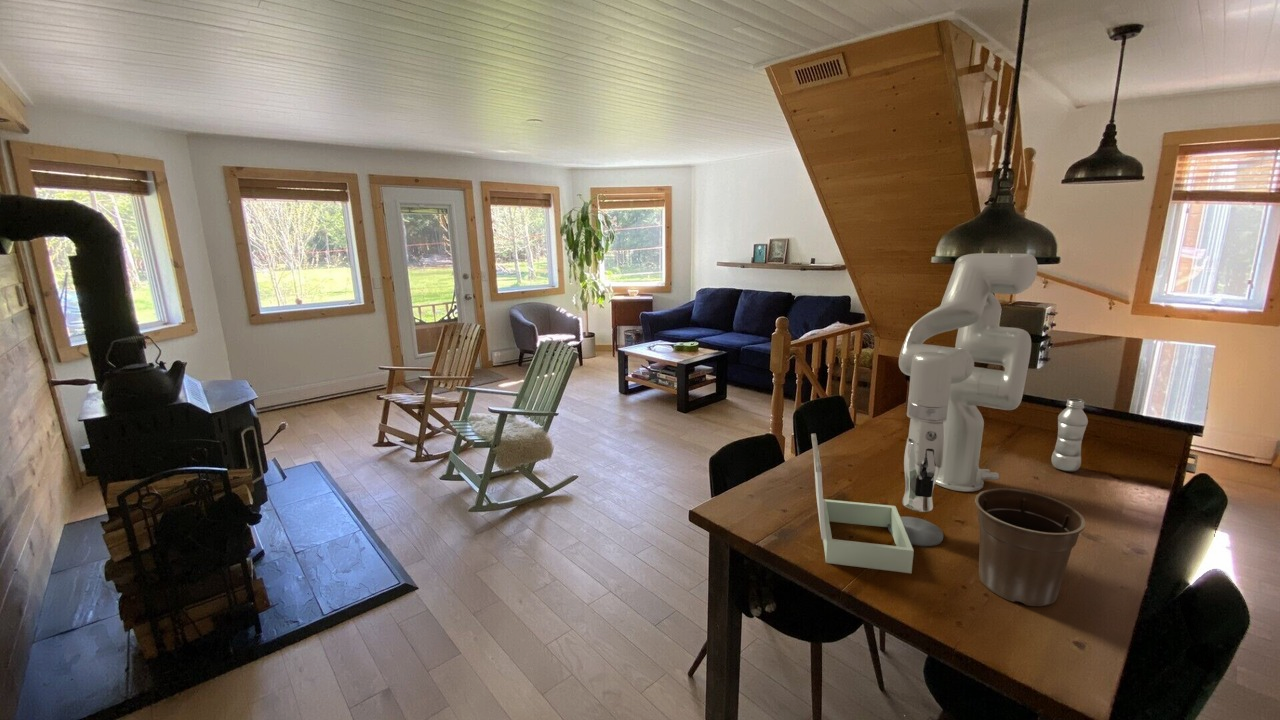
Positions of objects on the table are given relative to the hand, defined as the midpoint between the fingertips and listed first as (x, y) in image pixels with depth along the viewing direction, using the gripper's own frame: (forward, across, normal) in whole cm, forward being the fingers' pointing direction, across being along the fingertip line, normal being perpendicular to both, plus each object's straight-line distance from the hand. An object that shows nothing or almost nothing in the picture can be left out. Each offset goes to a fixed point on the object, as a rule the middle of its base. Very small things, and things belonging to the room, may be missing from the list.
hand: (919, 487), depth 116 cm
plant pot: (+11, -16, -14) cm, 24 cm away
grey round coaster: (+11, 0, 0) cm, 11 cm away
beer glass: (+4, 0, 0) cm, 4 cm away
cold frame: (+11, -7, +12) cm, 18 cm away
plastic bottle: (+11, +43, -47) cm, 65 cm away
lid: (-2, -7, +21) cm, 22 cm away
